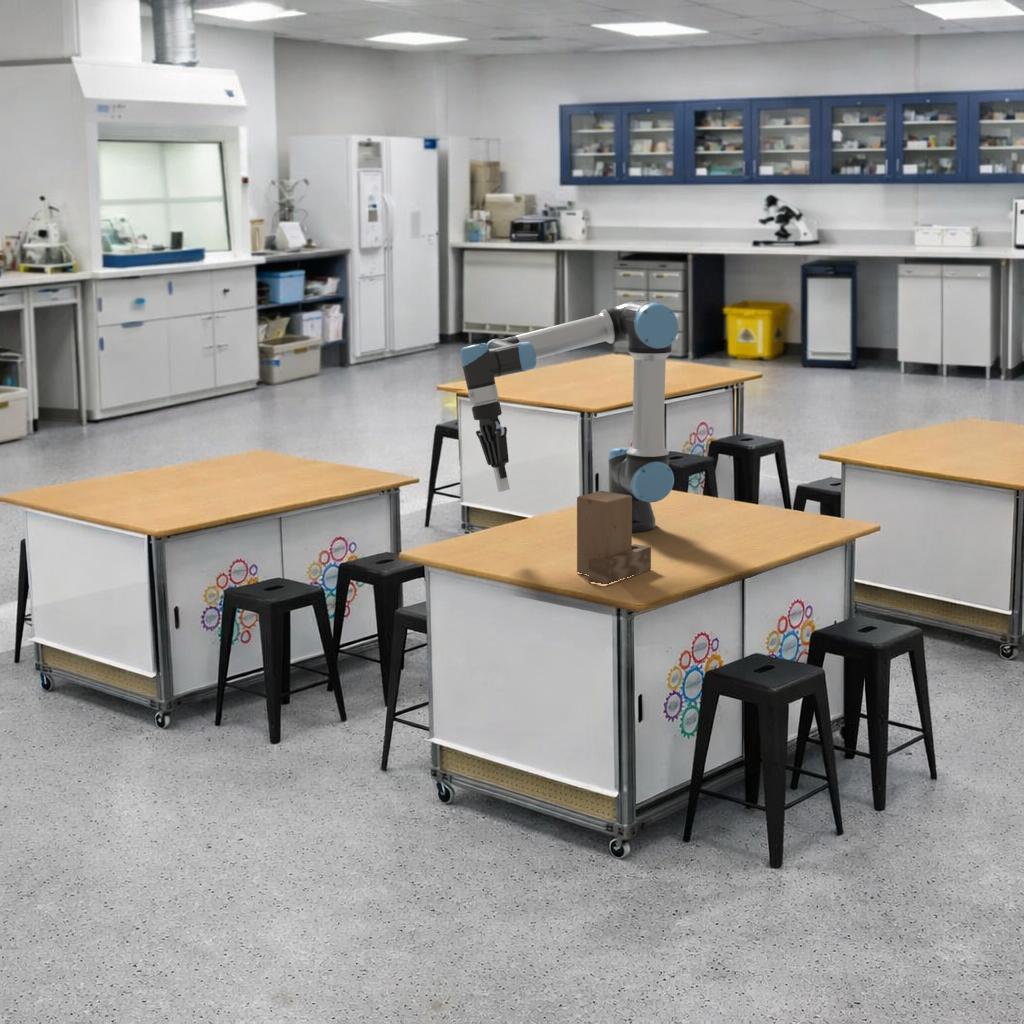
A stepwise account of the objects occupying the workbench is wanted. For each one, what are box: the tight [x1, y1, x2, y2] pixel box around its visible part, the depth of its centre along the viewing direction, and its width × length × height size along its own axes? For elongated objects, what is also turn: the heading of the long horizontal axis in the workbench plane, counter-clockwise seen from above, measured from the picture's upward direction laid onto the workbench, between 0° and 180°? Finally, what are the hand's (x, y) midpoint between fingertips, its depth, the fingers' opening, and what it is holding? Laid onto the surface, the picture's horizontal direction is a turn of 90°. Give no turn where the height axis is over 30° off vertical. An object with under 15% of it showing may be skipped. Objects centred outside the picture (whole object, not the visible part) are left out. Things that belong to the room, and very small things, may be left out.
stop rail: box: [588, 543, 652, 584], centre depth 359 cm, size 20×5×6 cm, turn 142°
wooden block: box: [576, 490, 633, 575], centre depth 360 cm, size 10×10×20 cm
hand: (504, 490), depth 381 cm, fingers closed
